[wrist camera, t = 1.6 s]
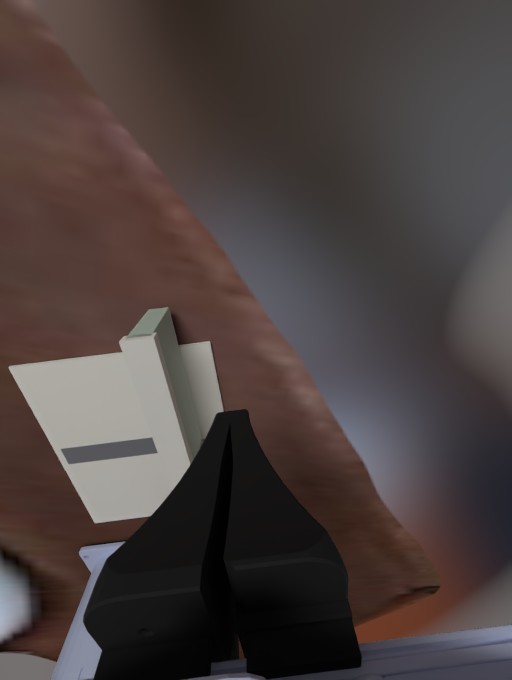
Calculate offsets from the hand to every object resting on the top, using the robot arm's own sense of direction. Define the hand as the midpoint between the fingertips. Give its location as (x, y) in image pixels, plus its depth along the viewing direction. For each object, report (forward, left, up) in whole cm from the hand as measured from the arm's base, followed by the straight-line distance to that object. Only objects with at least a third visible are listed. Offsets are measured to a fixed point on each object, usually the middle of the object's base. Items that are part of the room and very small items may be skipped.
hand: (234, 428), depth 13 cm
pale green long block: (-2, +4, -7) cm, 8 cm away
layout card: (-7, +8, -7) cm, 13 cm away
